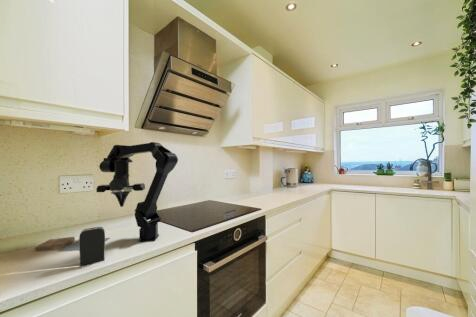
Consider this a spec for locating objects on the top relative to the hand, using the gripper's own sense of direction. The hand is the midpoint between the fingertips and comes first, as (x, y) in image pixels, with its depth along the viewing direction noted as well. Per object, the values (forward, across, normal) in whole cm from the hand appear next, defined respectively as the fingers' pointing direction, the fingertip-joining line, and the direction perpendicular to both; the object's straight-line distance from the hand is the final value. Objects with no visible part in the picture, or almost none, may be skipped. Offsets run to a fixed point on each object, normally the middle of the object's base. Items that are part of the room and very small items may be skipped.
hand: (121, 206), depth 94 cm
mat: (+13, -11, -9) cm, 19 cm away
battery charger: (+13, -1, -26) cm, 29 cm away
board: (+12, -17, -8) cm, 22 cm away
